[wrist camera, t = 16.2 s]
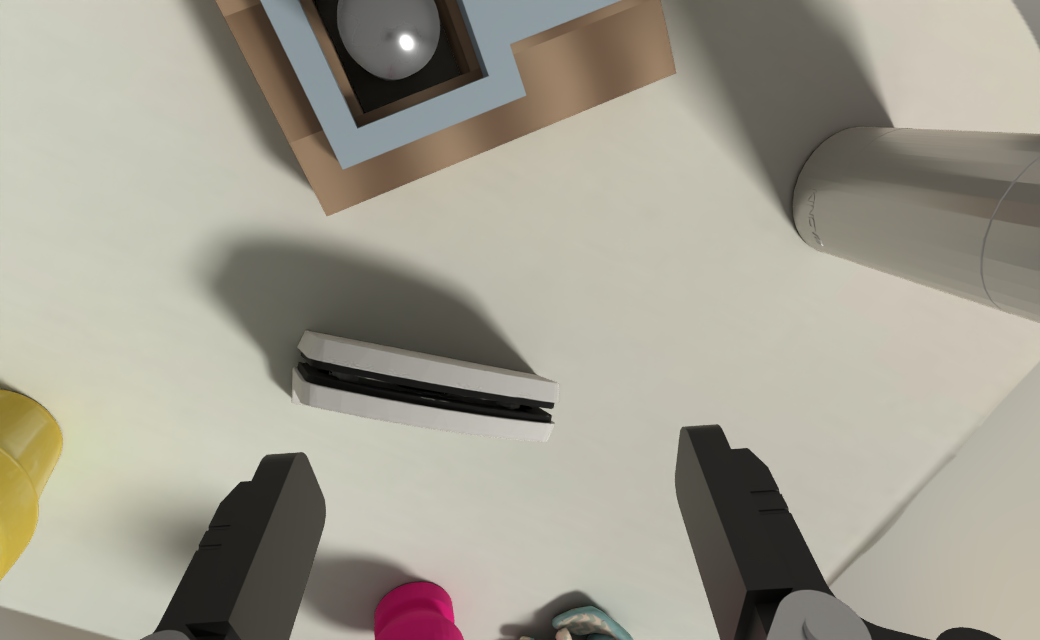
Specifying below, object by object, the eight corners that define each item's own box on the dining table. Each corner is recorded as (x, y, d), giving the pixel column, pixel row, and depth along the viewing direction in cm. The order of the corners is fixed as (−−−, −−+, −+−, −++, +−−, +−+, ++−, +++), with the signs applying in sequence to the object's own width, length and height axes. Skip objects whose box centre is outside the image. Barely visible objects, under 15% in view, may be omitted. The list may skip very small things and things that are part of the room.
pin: (412, -8, 31) (422, -47, 22) (434, 70, 32) (452, 63, 23) (340, 11, 30) (320, -21, 21) (366, 88, 32) (358, 89, 23)
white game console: (286, 398, 37) (271, 428, 28) (302, 328, 38) (292, 334, 28) (520, 434, 43) (574, 470, 33) (532, 373, 43) (589, 390, 33)
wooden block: (580, -196, 30) (608, -238, 26) (645, 76, 35) (676, 73, 32) (199, -58, 28) (173, -82, 24) (332, 204, 34) (326, 216, 30)
